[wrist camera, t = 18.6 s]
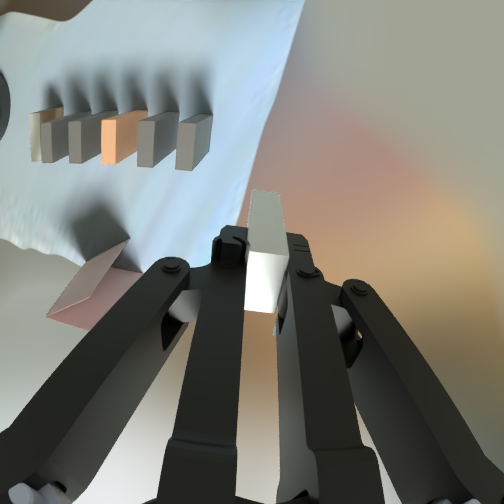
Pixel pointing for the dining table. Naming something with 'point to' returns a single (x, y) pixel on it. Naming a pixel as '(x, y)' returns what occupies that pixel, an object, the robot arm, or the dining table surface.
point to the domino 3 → (156, 138)
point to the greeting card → (93, 291)
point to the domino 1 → (57, 137)
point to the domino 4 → (193, 141)
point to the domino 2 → (86, 136)
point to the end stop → (36, 128)
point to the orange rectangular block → (120, 136)
